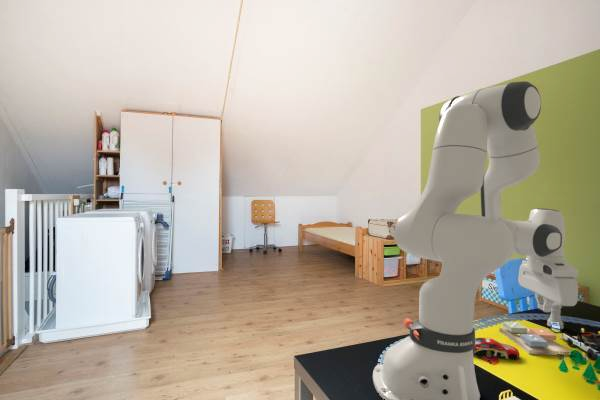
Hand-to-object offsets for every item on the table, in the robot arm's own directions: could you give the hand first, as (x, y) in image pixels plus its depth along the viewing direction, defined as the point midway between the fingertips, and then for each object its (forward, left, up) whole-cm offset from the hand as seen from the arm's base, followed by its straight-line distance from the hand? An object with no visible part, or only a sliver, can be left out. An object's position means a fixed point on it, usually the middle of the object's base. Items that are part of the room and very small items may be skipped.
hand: (544, 310), depth 97 cm
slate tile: (-6, -5, -8) cm, 11 cm away
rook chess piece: (+12, +12, -10) cm, 20 cm away
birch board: (-3, 0, -9) cm, 10 cm away
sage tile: (-6, +4, -8) cm, 10 cm away
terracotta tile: (0, 0, -8) cm, 8 cm away
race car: (-19, -9, -10) cm, 23 cm away
